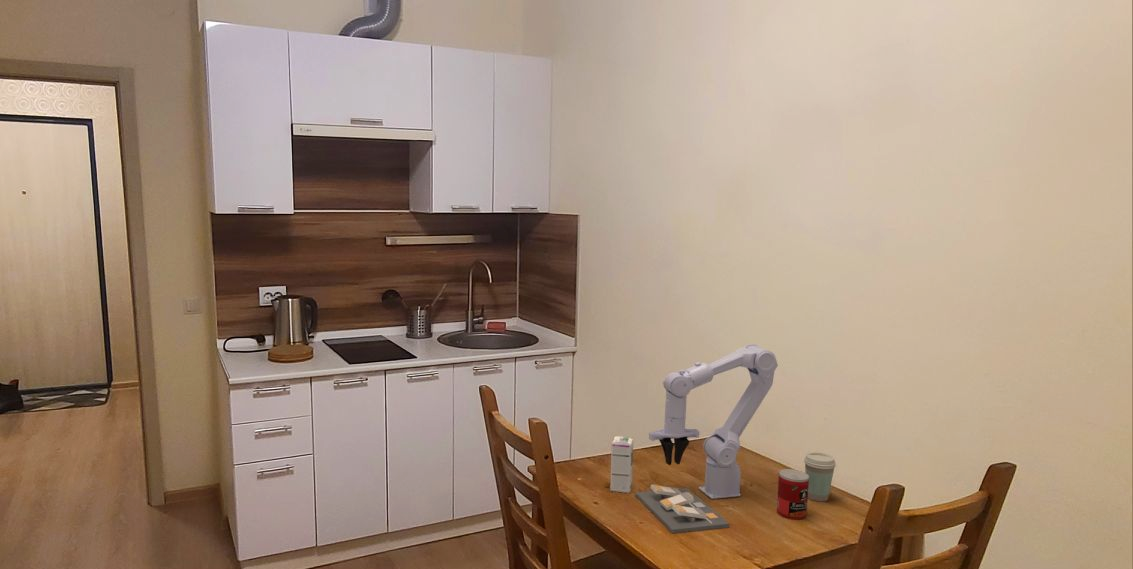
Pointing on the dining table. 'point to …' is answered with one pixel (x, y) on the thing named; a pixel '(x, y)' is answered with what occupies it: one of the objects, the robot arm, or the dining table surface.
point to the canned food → (792, 493)
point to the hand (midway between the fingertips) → (672, 463)
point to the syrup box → (621, 464)
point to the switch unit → (680, 522)
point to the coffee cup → (819, 475)
